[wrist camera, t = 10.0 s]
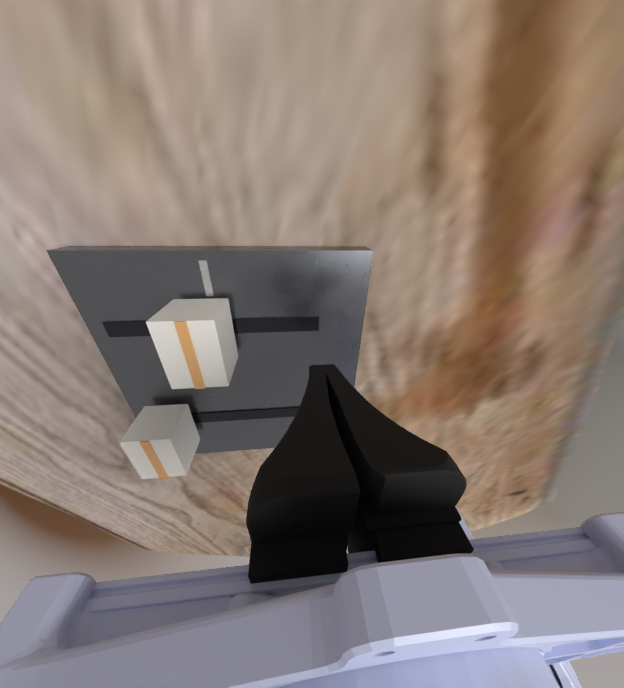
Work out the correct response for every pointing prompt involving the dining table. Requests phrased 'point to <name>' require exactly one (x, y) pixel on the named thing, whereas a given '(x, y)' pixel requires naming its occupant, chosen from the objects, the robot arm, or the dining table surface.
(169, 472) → the fader far
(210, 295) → the fader console
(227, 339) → the fader near
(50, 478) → the dining table surface
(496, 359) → the dining table surface
